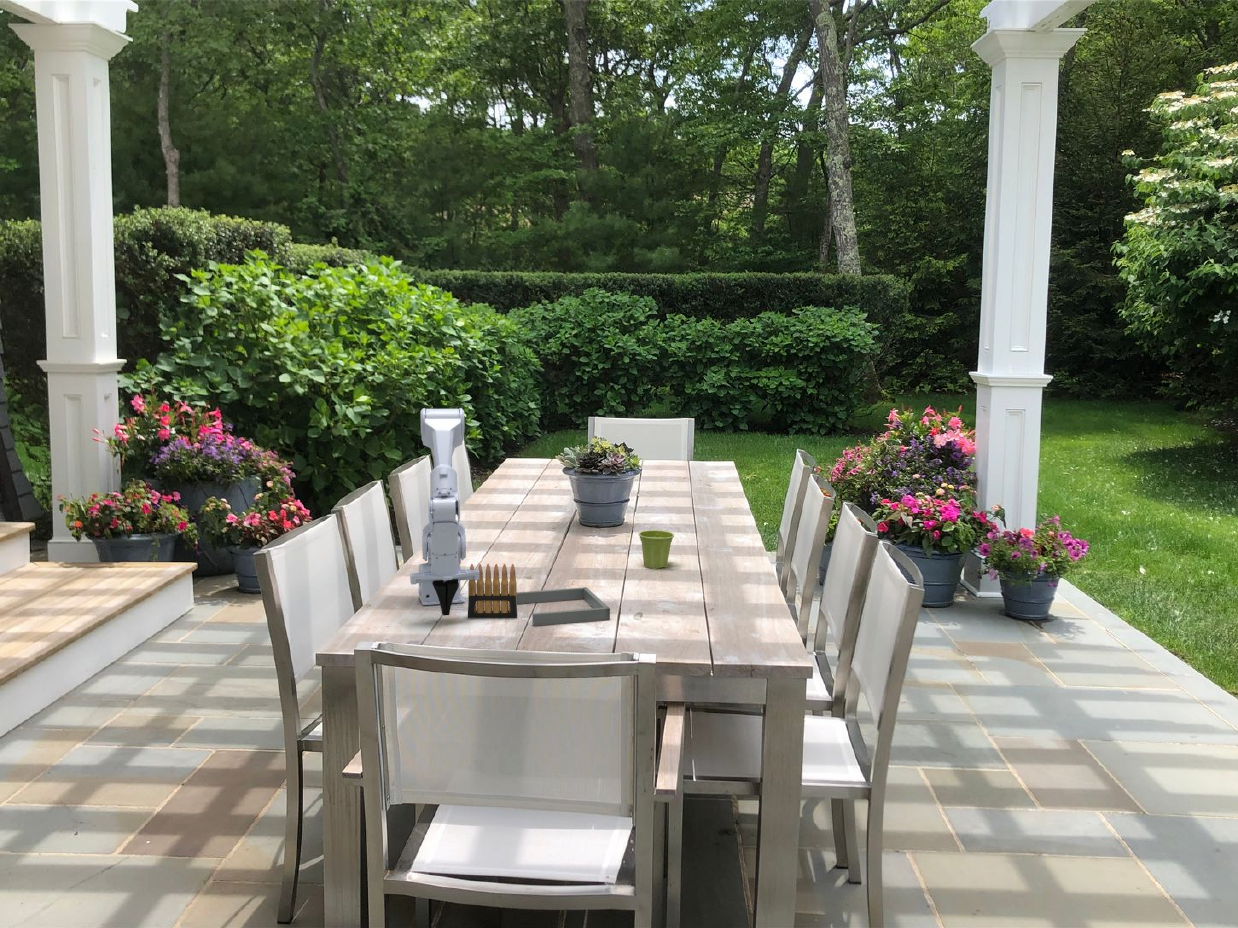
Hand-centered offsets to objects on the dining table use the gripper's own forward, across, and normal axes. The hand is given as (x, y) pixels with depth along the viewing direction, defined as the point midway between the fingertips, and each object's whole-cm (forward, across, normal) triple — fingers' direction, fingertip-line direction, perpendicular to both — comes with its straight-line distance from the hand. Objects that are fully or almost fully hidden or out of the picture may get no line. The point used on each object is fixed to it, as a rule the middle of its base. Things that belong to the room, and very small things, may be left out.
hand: (445, 614), depth 223 cm
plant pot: (+2, +60, +33) cm, 69 cm away
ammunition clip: (+2, +10, 0) cm, 10 cm away
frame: (+1, +25, 0) cm, 25 cm away
